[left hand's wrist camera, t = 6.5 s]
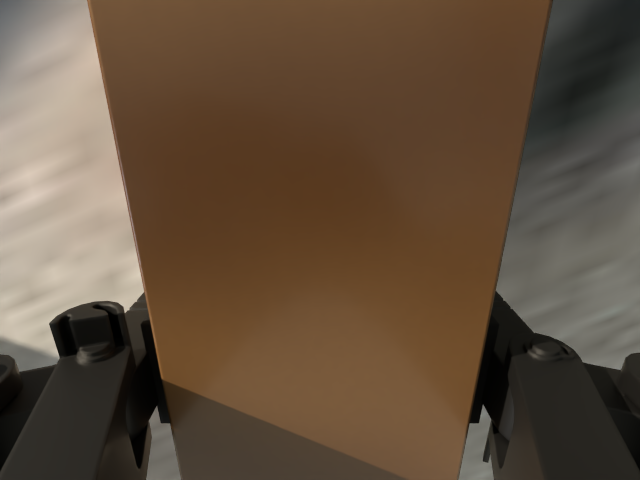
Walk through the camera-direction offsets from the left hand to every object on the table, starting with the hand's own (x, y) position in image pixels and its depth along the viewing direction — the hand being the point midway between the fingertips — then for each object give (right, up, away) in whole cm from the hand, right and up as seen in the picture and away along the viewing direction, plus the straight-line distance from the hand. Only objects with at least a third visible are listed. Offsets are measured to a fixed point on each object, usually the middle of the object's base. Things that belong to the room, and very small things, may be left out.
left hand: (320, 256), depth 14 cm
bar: (0, +18, -7) cm, 20 cm away
